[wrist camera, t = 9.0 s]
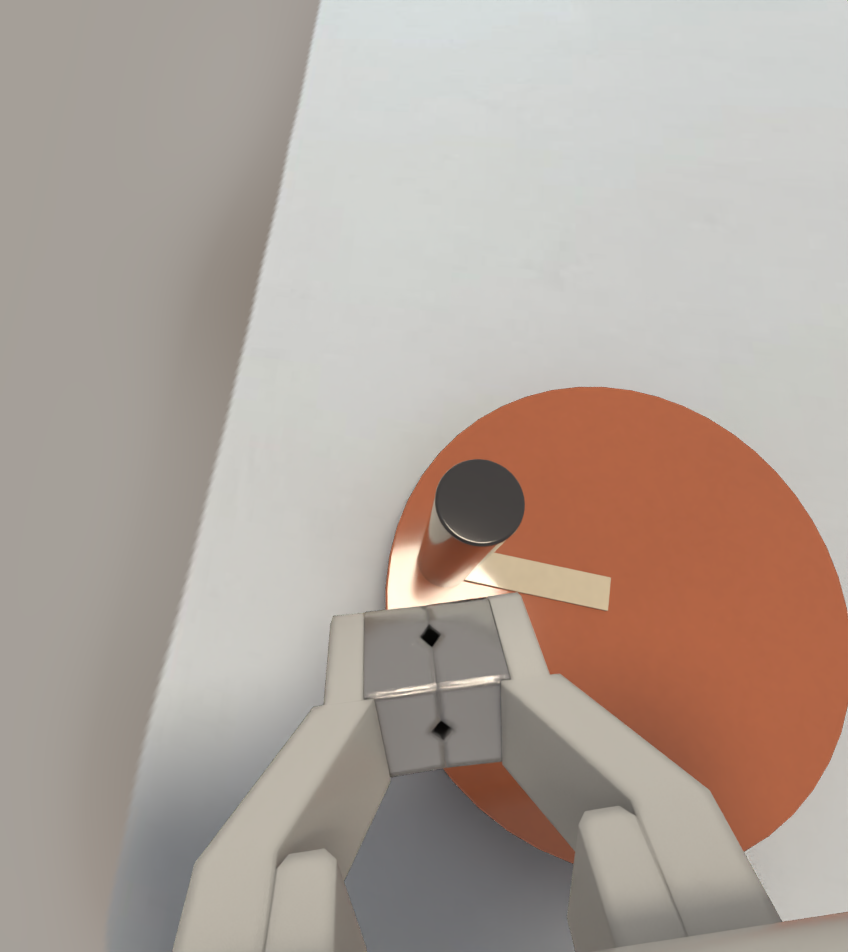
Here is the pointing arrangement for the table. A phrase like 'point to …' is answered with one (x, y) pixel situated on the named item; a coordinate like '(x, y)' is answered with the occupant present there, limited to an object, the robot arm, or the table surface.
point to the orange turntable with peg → (643, 591)
